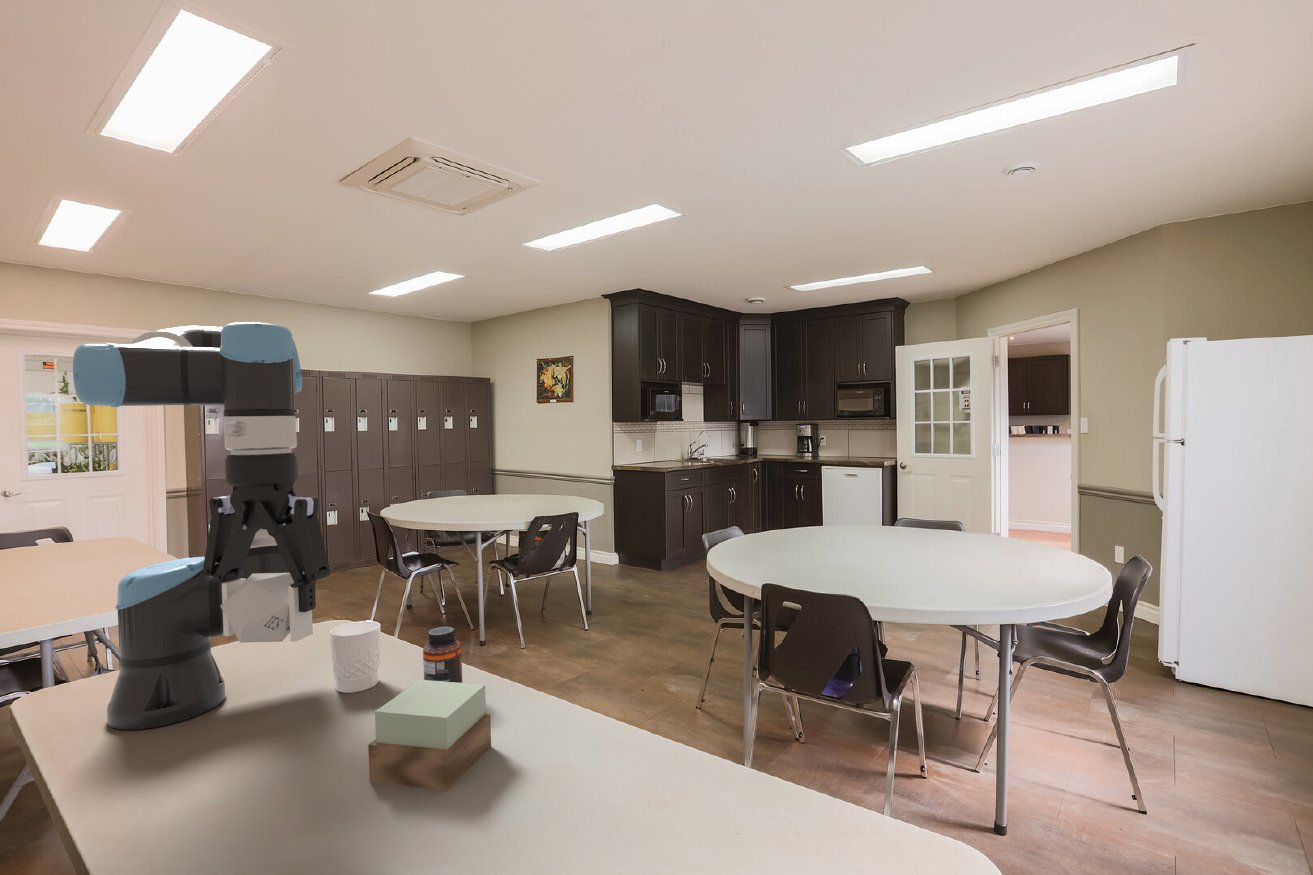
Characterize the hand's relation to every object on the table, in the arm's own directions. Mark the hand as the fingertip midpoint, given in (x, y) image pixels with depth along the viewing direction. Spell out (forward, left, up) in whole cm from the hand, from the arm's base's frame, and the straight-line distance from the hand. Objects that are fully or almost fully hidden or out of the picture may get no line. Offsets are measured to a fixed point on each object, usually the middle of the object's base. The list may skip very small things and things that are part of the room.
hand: (268, 634), depth 79 cm
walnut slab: (+16, +10, -20) cm, 27 cm away
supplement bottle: (+6, +28, -19) cm, 35 cm away
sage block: (+16, +10, -15) cm, 24 cm away
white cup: (-12, +30, -20) cm, 38 cm away
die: (0, 0, -1) cm, 1 cm away
